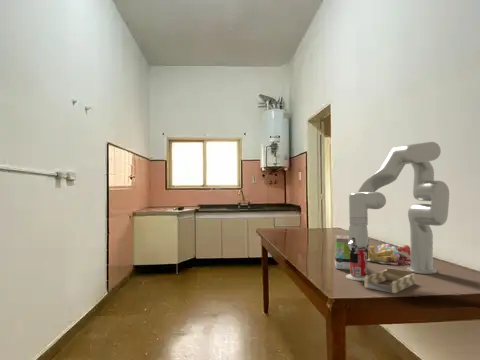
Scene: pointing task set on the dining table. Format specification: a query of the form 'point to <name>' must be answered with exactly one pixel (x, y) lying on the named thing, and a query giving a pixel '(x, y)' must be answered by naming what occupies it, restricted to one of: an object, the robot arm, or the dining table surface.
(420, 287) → the dining table surface
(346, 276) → the coaster
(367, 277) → the light wood rectangular frame
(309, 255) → the dining table surface
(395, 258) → the candy platter
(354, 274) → the soda can
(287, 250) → the dining table surface
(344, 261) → the tea box
